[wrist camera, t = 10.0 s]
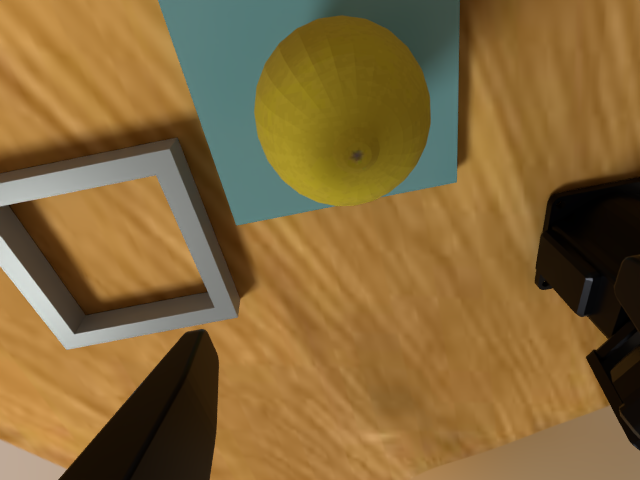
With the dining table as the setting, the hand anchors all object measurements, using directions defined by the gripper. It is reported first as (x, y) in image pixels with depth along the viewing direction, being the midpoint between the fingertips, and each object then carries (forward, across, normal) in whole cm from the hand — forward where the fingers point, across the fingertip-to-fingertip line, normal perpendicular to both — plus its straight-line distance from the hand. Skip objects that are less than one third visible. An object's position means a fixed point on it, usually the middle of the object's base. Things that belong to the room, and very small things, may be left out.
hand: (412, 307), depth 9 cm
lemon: (+11, 0, -2) cm, 11 cm away
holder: (+12, +12, +4) cm, 18 cm away
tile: (+12, +1, -2) cm, 12 cm away
